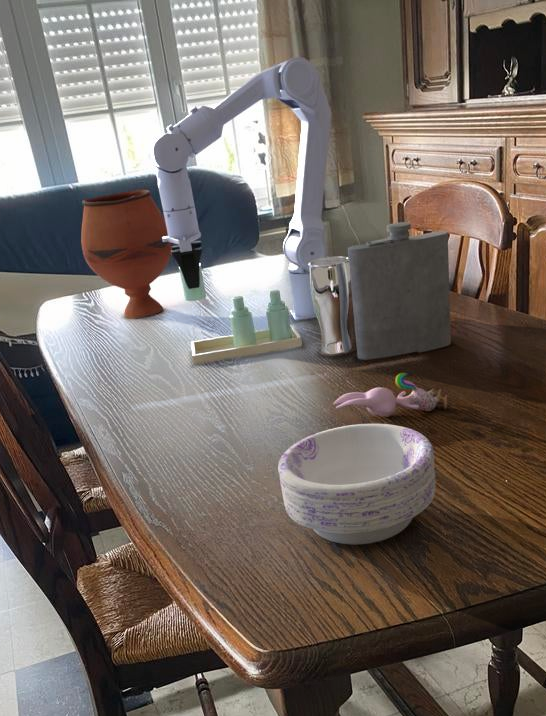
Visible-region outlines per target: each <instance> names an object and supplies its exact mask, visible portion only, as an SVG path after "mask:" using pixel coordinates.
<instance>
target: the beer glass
mask: <svg viewBox="0 0 546 716" xmlns="http://www.w3.org/2000/svg"><path fill="white" fill-rule="evenodd" d="M309 267H310V287H311V295H312V300H313V304H314V308H315V312H316V315H317V317H316V318H317V322H318V325H319V329H320V330H319V331H320V337H321V341H320V342H321V343H320V353H321V354H322V355H325V356H330V357H331V356H332V357H334V356H336V357H337V356H343V355H344V356H345V355H348V354H351V353H353V352H355V351H357V345H356V340H355V337H354V334H353V316H354V312H353V301H352V290H351V279H350V268H349V256H344V255H342V256H341V255H336V256H335V255H334V256H327V257H325V258H320V259H316V260H313V261H311V262H310V263H309Z"/></svg>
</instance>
